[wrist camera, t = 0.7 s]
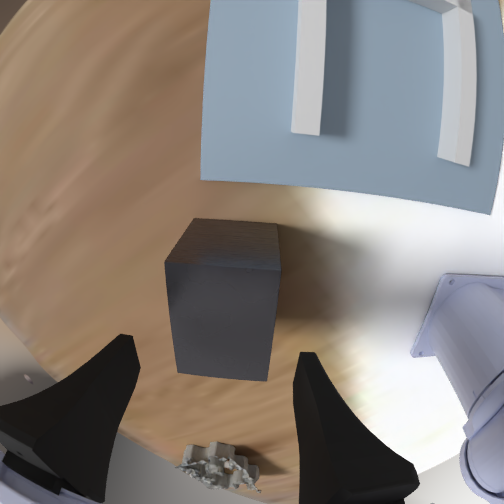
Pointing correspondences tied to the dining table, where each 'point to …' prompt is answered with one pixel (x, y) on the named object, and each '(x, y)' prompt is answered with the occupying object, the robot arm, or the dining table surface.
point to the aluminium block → (224, 298)
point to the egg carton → (219, 467)
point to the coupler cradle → (357, 97)
